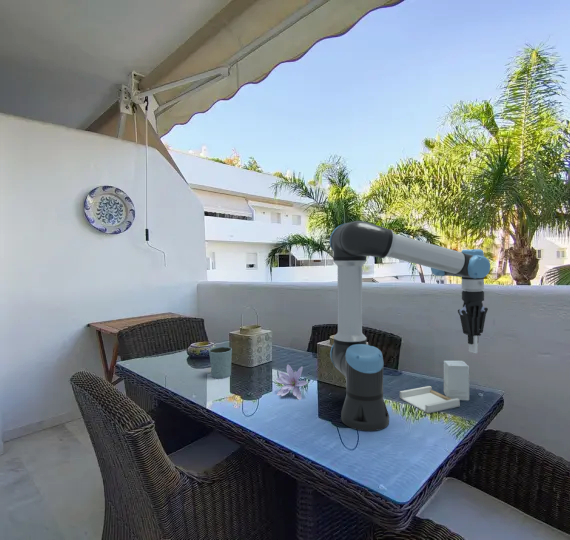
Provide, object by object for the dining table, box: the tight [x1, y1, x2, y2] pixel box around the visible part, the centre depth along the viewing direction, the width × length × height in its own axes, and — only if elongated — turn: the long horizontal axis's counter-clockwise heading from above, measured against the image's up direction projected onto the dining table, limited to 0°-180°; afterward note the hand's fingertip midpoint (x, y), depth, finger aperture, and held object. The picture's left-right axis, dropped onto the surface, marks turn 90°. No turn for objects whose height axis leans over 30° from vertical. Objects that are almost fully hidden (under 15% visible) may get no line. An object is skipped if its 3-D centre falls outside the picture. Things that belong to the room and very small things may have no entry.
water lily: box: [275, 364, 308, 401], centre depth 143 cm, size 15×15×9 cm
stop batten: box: [430, 389, 451, 400], centre depth 135 cm, size 1×12×1 cm, turn 21°
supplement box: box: [443, 360, 470, 401], centre depth 137 cm, size 7×7×13 cm
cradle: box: [399, 385, 461, 414], centre depth 132 cm, size 14×14×2 cm
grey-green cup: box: [208, 346, 233, 380], centre depth 165 cm, size 10×10×12 cm
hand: (473, 352), depth 139 cm, fingers closed
